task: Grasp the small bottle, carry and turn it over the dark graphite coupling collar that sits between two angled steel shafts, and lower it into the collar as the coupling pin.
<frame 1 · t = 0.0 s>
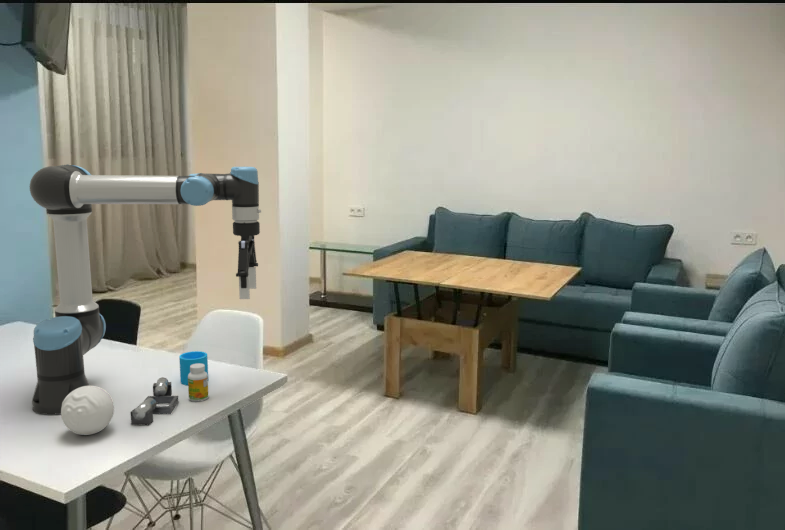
hand: (248, 293, 197), 28 cm above the table, fingers open, 13 cm apart
shaft 1: (145, 420, 176), on the table
shaft 2: (162, 397, 192), on the table
decorative ball: (89, 433, 168), on the table
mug: (193, 379, 207), on the table
collar: (159, 408, 184), on the table
supplement bottle: (198, 399, 191), on the table
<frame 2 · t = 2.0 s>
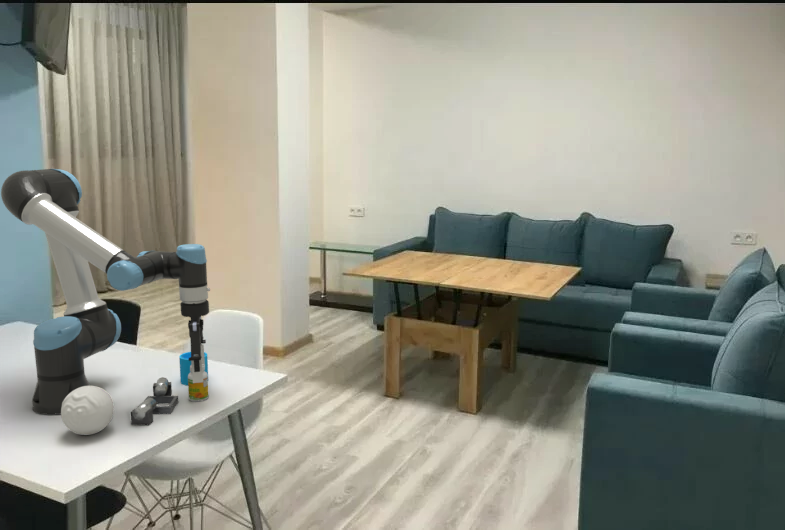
hand: (199, 374, 190), 7 cm above the table, fingers open, 13 cm apart
nothing on the table moved.
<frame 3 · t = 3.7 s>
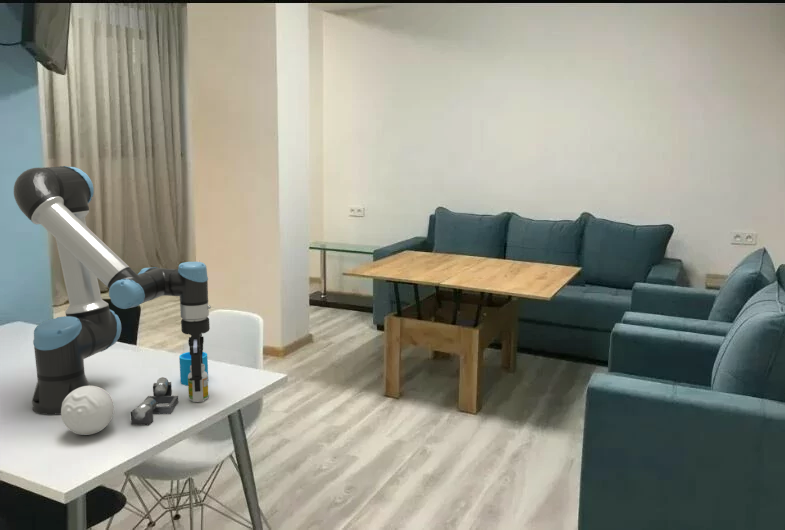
hand: (198, 397, 191), 0 cm above the table, fingers closed on supplement bottle, 5 cm apart
supplement bottle: (198, 399, 191), on the table, touching gripper
everything else where it was.
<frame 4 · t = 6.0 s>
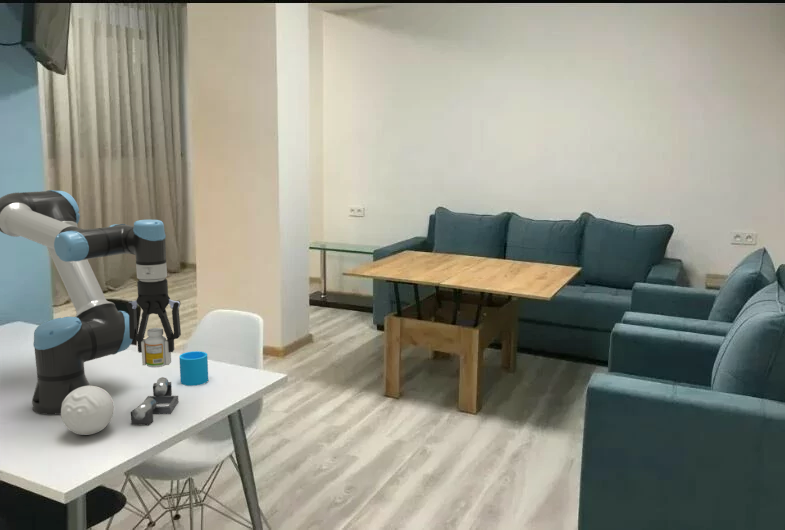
hand: (157, 363, 182), 13 cm above the table, fingers closed on supplement bottle, 5 cm apart
supplement bottle: (157, 365, 182), point 12 cm above the table, touching gripper
everything else where it was.
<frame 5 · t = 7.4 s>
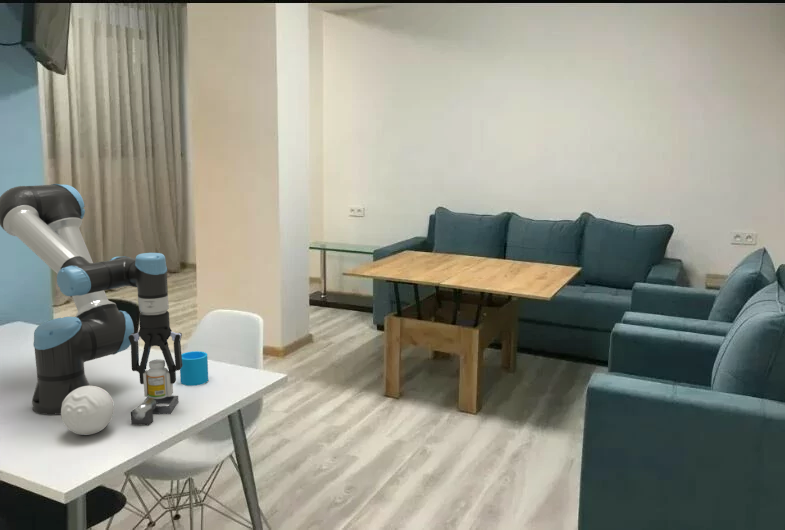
hand: (158, 394, 183), 4 cm above the table, fingers closed on supplement bottle, 5 cm apart
supplement bottle: (158, 396, 183), point 3 cm above the table, touching gripper
everything else where it was.
when the fingers open (3 cm above the table, at t = 8.3 s): supplement bottle drops 3 cm, resting in collar.
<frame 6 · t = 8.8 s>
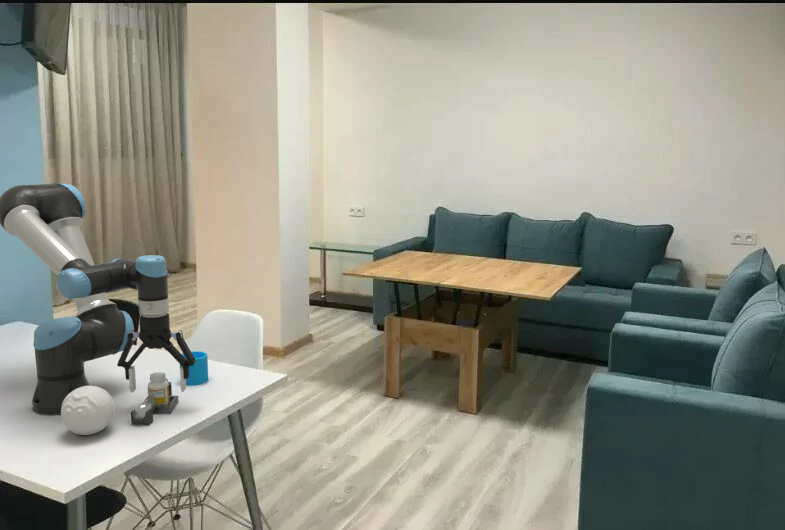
hand: (158, 390, 183), 5 cm above the table, fingers open, 13 cm apart
supplement bottle: (159, 409, 184), resting in collar
everything else where it was.
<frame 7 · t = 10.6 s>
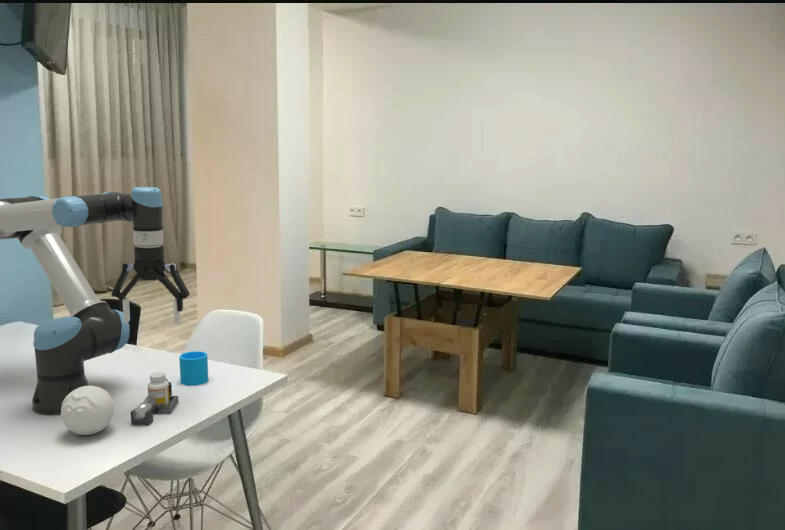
hand: (152, 322, 184), 23 cm above the table, fingers open, 13 cm apart
nothing on the table moved.
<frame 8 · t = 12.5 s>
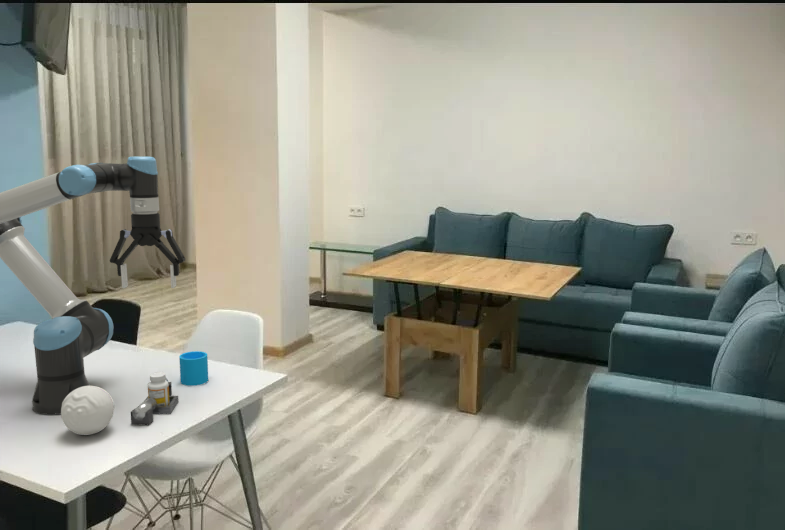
hand: (149, 287, 192), 31 cm above the table, fingers open, 13 cm apart
nothing on the table moved.
at the end: supplement bottle 0.0 cm off-centre on the collar, point 0.0 cm above the collar's base; supplement bottle tilted 0°; the gripper is holding nothing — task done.
